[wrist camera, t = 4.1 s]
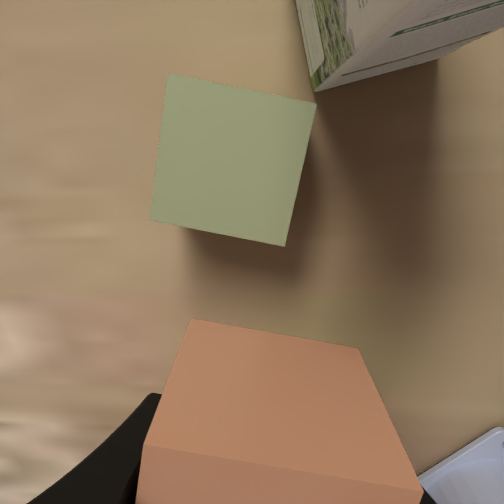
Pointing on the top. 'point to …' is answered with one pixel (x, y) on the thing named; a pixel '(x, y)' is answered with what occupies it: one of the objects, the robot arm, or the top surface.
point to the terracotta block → (271, 426)
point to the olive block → (229, 159)
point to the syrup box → (387, 34)
